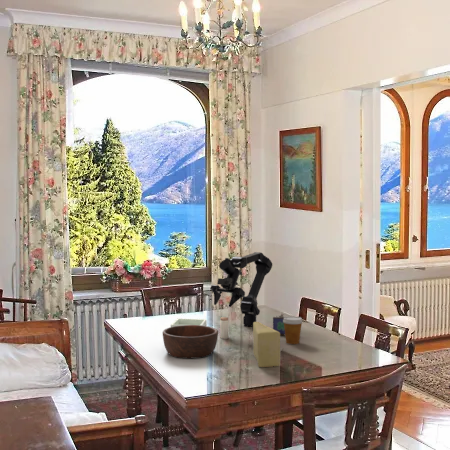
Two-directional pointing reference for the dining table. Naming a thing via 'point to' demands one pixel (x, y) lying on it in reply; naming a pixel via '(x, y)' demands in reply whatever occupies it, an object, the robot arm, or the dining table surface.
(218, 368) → the dining table surface
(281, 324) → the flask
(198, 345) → the wooden bowl
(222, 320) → the jar
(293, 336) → the disposable coffee cup
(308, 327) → the dining table surface
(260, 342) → the cheese
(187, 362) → the dining table surface
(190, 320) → the bin
